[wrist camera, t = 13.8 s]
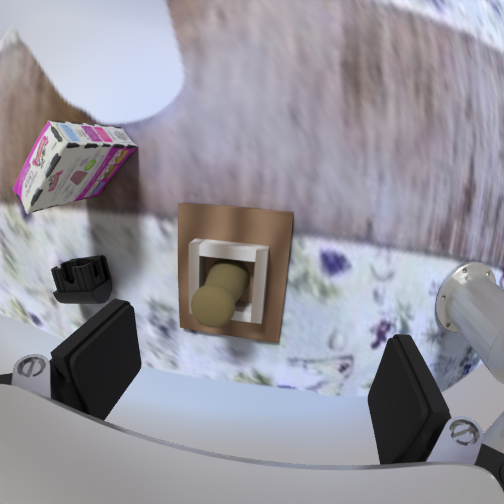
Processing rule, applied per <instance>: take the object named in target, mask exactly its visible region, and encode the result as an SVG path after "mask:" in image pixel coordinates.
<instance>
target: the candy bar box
mask: <svg viewBox="0 0 504 504" xmlns="http://www.w3.org/2000/svg"><path fill="white" fill-rule="evenodd" d="M137 147H138V146H137V145H136V144H135V143H134V142H133V141H132V140H131V138H130V137H129V136H128V135H127V133H126V132H125V131H124V130H123V129H122V128H121V127H113V126H105V125H96V124H86V123H76V122H63V121H50V120H48V122H47V123H46V125H45V127H44V129H43V130H42V132H41V134H40V136H39V137H38V139H37V141H36V143H35V145H34V146H33V148H32V150H31V152H30V154H29V156H28V158H27V160H26V162H25V164H24V166H23V168H22V170H21V172H20V174H19V176H18V178H17V180H16V183H15V185H14V187H13V191H14V192H15V194H16V196H17V198H18V199H19V201H20V202H21V204H22V206H23V208H24V209H25V211H26V213H27V214H29V213H32V212H36V211H39V210H43V209H46V208H50V207H54V206H58V205H62V204H66V203H70V202H74V201H78V200H82V199H87V198H91V197H95V196H99V195H100V194H101V192H102V191H103V189H104V188H105V187H106V185H107V184H108V183H109V181H110V180H111V179H112V178H113V176H114V175H115V174H116V172H117V171H118V170H119V169H120V167H121V166H122V165H123V164H124V163H125V161H126V160H127V159H128V158H129V157H130V155H131V154H132V153H133V152H134V151H135V149H136V148H137Z"/></svg>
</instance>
